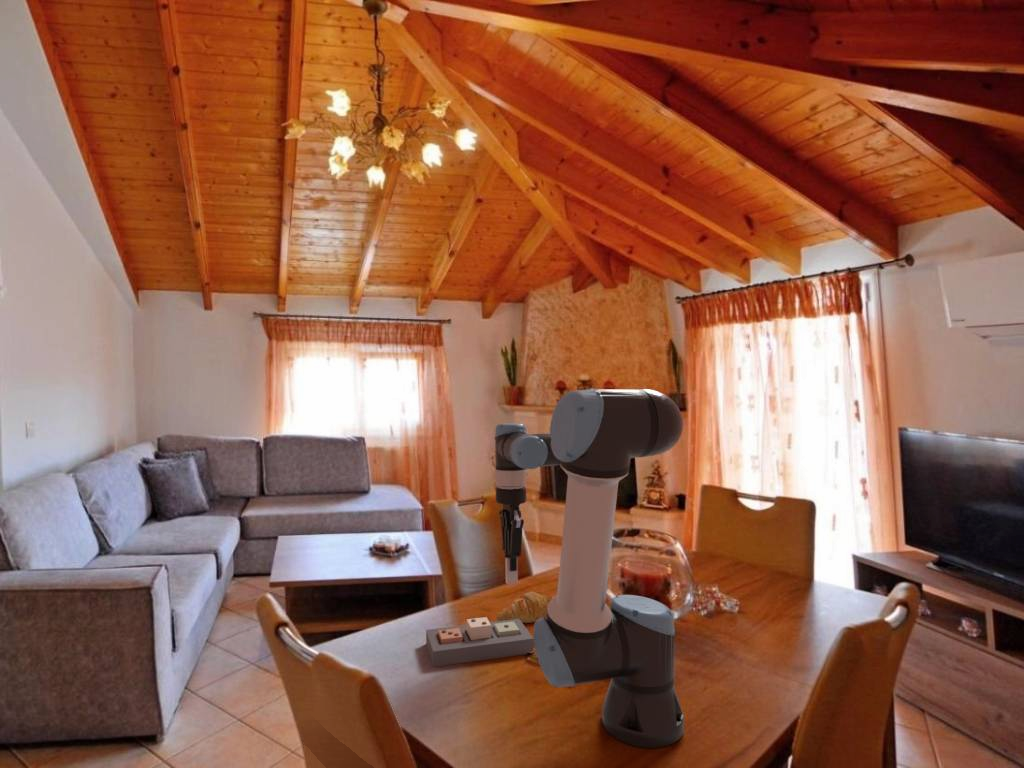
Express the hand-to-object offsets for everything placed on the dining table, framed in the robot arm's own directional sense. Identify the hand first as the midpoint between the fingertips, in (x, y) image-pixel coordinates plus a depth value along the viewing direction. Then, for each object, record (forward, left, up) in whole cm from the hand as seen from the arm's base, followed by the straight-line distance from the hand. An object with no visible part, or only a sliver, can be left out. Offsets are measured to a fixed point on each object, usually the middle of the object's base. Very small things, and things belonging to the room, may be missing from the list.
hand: (511, 582), depth 143 cm
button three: (+1, +15, -14) cm, 21 cm away
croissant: (+17, -10, -16) cm, 25 cm away
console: (+1, +8, -16) cm, 18 cm away
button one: (+1, +1, -14) cm, 14 cm away
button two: (+1, +8, -12) cm, 15 cm away
